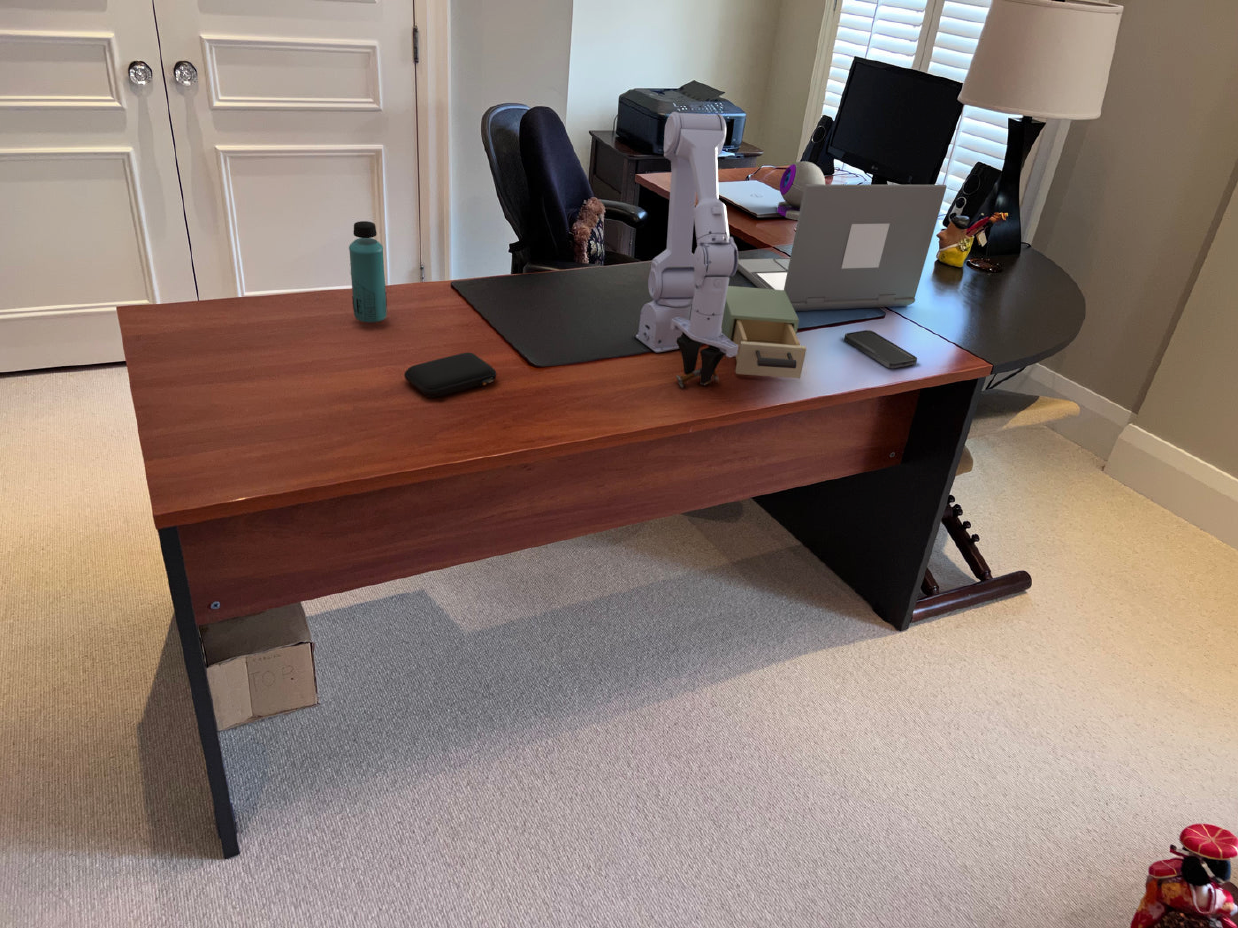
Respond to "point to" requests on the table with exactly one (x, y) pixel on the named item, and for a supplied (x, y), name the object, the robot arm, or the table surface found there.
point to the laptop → (854, 247)
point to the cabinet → (757, 307)
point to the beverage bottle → (367, 274)
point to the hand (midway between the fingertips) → (697, 377)
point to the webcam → (797, 186)
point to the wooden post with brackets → (695, 373)
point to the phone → (880, 349)
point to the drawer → (767, 349)
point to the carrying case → (450, 374)
